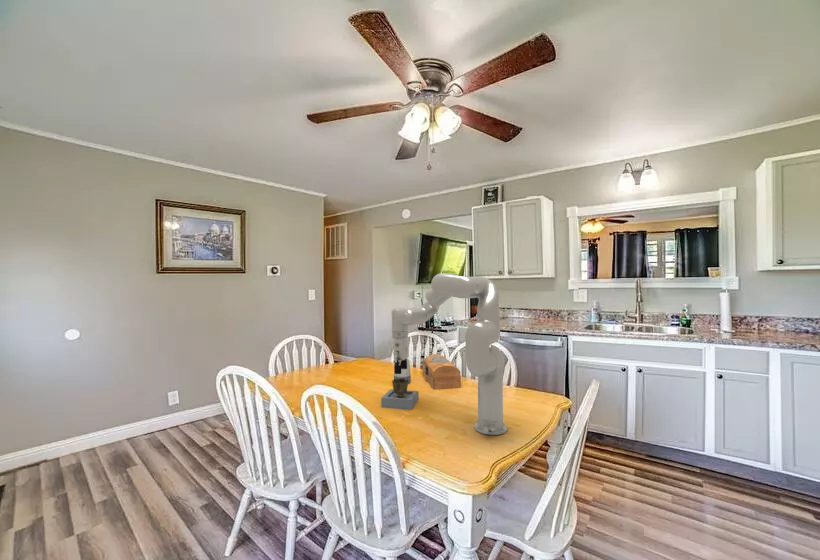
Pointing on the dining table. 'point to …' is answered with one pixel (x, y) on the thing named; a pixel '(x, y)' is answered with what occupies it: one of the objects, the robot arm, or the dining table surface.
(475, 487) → the dining table surface
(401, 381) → the cup
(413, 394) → the grey square tray
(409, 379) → the smart speaker
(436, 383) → the wooden box
